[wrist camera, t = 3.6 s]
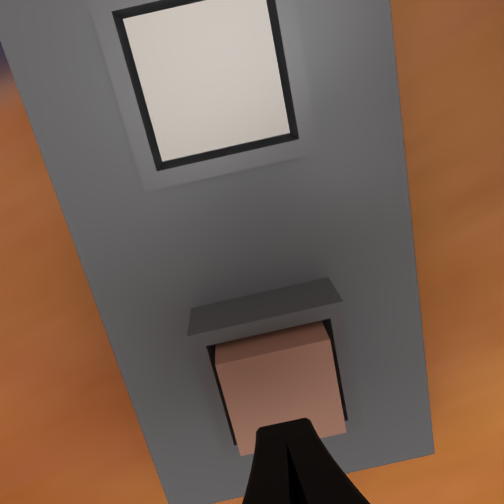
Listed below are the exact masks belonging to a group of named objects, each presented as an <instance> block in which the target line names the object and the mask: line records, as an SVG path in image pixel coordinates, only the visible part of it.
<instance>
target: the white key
mask: <svg viewBox="0 0 504 504" xmlns="http://www.w3.org/2000/svg"><path fill="white" fill-rule="evenodd" d="M123 22H124V25H125V29H126V32H127V36H128V40H129V43H130V47H131V50H132V54H133V58H134V61H135V65H136V68H137V72H138V76H139V79H140V83H141V87H142V90H143V94H144V97H145V101H146V105H147V108H148V112H149V115H150V119H151V123H152V126H153V130H154V133H155V137H156V141H157V144H158V148H159V152H160V155H161V159H162V162H163V161H167V160H171V159H176V158H180V157H185V156H189V155H194V154H198V153H202V152H207V151H211V150H216V149H220V148H225V147H229V146H233V145H238V144H242V143H247V142H251V141H256V140H260V139H264V138H269V137H273V136H278V135H282V134H287V133H290V130H289V124H288V119H287V113H286V108H285V102H284V97H283V91H282V85H281V80H280V74H279V69H278V63H277V58H276V52H275V46H274V41H273V35H272V30H271V24H270V19H269V13H268V7H267V2H266V0H204V1H200V2H196V3H191V4H187V5H182V6H178V7H174V8H169V9H165V10H160V11H156V12H152V13H147V14H143V15H138V16H134V17H130V18H125V19H123Z"/></svg>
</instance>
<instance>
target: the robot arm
mask: <svg viewBox="0 0 504 504" xmlns="http://www.w3.org/2000/svg"><path fill="white" fill-rule="evenodd" d="M242 504H370V503H369V502H368V501H367V500H366V498H365V497H364V496H363V495H362V494H361V493H360V492H359V490H358V489H357V488H356V487H355V486H354V484H353V483H352V482H351V481H350V480H349V478H348V477H347V476H346V474H345V473H344V472H343V470H342V469H341V468H340V467H339V465H338V464H337V463H336V461H335V460H334V459H333V457H332V456H331V454H330V453H329V451H328V450H327V448H326V447H325V445H324V444H323V442H322V441H321V439H320V438H319V436H318V434H317V432H316V430H315V429H314V427H313V425H312V422H311V420H309V419H308V418H306V417H305V418H301V419H296V420H291V421H287V422H282V423H277V424H273V425H268V426H263V427H259V429H258V430H257V431H256V442H255V450H254V456H253V462H252V467H251V472H250V476H249V480H248V484H247V488H246V492H245V496H244V499H243V503H242Z"/></svg>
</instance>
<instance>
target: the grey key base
mask: <svg viewBox="0 0 504 504" xmlns="http://www.w3.org/2000/svg"><path fill="white" fill-rule="evenodd" d="M200 1H204V0H0V41H1V44H2V46H3V49H4V52H5V55H6V58H7V60H8V63H9V66H10V69H11V71H12V74H13V77H14V80H15V82H16V85H17V88H18V91H19V93H20V96H21V99H22V102H23V104H24V107H25V110H26V113H27V115H28V118H29V121H30V124H31V126H32V129H33V132H34V135H35V137H36V140H37V143H38V146H39V148H40V151H41V154H42V157H43V159H44V162H45V165H46V168H47V170H48V173H49V176H50V179H51V181H52V184H53V187H54V190H55V192H56V195H57V198H58V201H59V203H60V206H61V209H62V212H63V214H64V217H65V220H66V223H67V225H68V228H69V231H70V234H71V236H72V239H73V242H74V245H75V247H76V250H77V253H78V256H79V258H80V261H81V264H82V267H83V269H84V272H85V275H86V278H87V280H88V283H89V286H90V289H91V291H92V294H93V297H94V300H95V303H96V305H97V308H98V311H99V314H100V316H101V319H102V322H103V325H104V327H105V330H106V333H107V336H108V338H109V341H110V344H111V347H112V349H113V352H114V355H115V358H116V360H117V363H118V366H119V369H120V371H121V374H122V377H123V380H124V382H125V385H126V388H127V391H128V393H129V396H130V399H131V402H132V404H133V407H134V410H135V413H136V415H137V418H138V421H139V424H140V426H141V429H142V432H143V435H144V437H145V440H146V443H147V446H148V448H149V451H150V454H151V457H152V459H153V462H154V465H155V468H156V470H157V473H158V476H159V479H160V481H161V484H162V487H163V490H164V492H165V495H166V498H167V501H168V503H169V504H211V503H216V502H220V501H225V500H229V499H234V498H238V497H243V496H245V492H246V488H247V484H248V480H249V476H250V472H251V467H252V462H253V456H254V453H253V454H248V455H244V456H240V452H239V448H238V445H237V441H236V438H235V434H234V431H233V427H232V423H231V420H230V416H229V413H228V409H227V406H226V402H225V398H224V395H223V391H222V388H221V384H220V381H219V377H218V373H217V370H216V366H215V344H218V343H223V342H227V341H231V340H236V339H240V338H245V337H249V336H254V335H258V334H263V333H267V332H272V331H276V330H281V329H285V328H289V327H294V326H298V325H303V324H307V323H312V322H316V321H322V323H323V325H324V327H325V329H326V332H327V334H328V336H329V338H330V342H331V347H332V353H333V359H334V364H335V370H336V376H337V381H338V387H339V393H340V398H341V404H342V409H343V415H344V421H345V426H346V432H347V433H342V434H338V435H333V436H329V437H324V438H320V439H321V441H322V442H323V444H324V445H325V447H326V448H327V450H328V451H329V453H330V454H331V456H332V457H333V459H334V460H335V461H336V463H337V464H338V465H339V467H340V468H341V469H342V470H343V472H344V473H345V474H346V473H351V472H355V471H360V470H364V469H368V468H373V467H377V466H382V465H386V464H391V463H395V462H400V461H404V460H409V459H413V458H418V457H422V456H427V455H431V454H435V453H434V443H433V433H432V422H431V412H430V402H429V392H428V382H427V372H426V361H425V351H424V341H423V331H422V321H421V311H420V301H419V290H418V280H417V270H416V260H415V250H414V240H413V229H412V219H411V209H410V199H409V189H408V179H407V169H406V158H405V148H404V138H403V128H402V118H401V108H400V97H399V87H398V77H397V67H396V57H395V47H394V37H393V26H392V16H391V6H390V0H266V2H267V7H268V13H269V19H270V24H271V30H272V35H273V41H274V46H275V52H276V58H277V63H278V69H279V74H280V80H281V85H282V91H283V97H284V102H285V108H286V113H287V119H288V124H289V130H290V133H287V134H282V135H278V136H273V137H269V138H264V139H260V140H256V141H251V142H247V143H242V144H238V145H233V146H229V147H225V148H220V149H216V150H211V151H207V152H202V153H198V154H194V155H189V156H185V157H180V158H176V159H171V160H167V161H163V162H162V159H161V155H160V152H159V148H158V144H157V141H156V137H155V133H154V130H153V126H152V123H151V119H150V115H149V112H148V108H147V105H146V101H145V97H144V94H143V90H142V87H141V83H140V79H139V76H138V72H137V68H136V65H135V61H134V58H133V54H132V50H131V47H130V43H129V40H128V36H127V32H126V29H125V25H124V22H123V19H125V18H130V17H134V16H138V15H143V14H147V13H152V12H156V11H160V10H165V9H169V8H174V7H178V6H182V5H187V4H191V3H196V2H200Z"/></svg>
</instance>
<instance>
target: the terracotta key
mask: <svg viewBox="0 0 504 504" xmlns="http://www.w3.org/2000/svg"><path fill="white" fill-rule="evenodd" d="M215 366H216V370H217V373H218V377H219V381H220V384H221V388H222V391H223V395H224V398H225V402H226V406H227V409H228V413H229V416H230V420H231V423H232V427H233V431H234V434H235V438H236V441H237V445H238V448H239V452H240V456H244V455H248V454H253V453H254V450H255V442H256V431H257V430H258V429H259V427H263V426H268V425H273V424H277V423H282V422H287V421H291V420H296V419H301V418H305V417H306V418H308V419H309V420H311V422H312V425H313V427H314V429H315V430H316V432H317V434H318V436H319V438H324V437H329V436H333V435H338V434H342V433H347V432H346V426H345V421H344V415H343V409H342V404H341V398H340V393H339V387H338V381H337V376H336V370H335V364H334V359H333V353H332V347H331V342H330V338H329V336H328V334H327V332H326V329H325V327H324V325H323V323H322V321H316V322H312V323H307V324H303V325H298V326H294V327H289V328H285V329H281V330H276V331H272V332H267V333H263V334H258V335H254V336H249V337H245V338H240V339H236V340H231V341H227V342H223V343H218V344H215Z"/></svg>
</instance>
